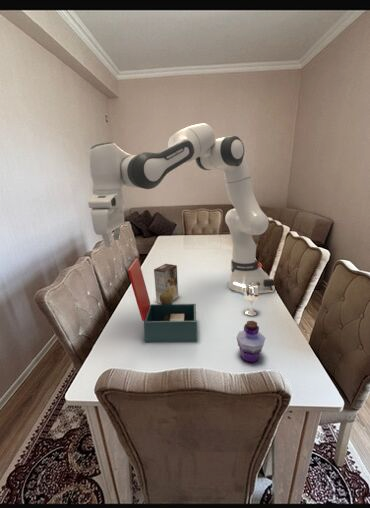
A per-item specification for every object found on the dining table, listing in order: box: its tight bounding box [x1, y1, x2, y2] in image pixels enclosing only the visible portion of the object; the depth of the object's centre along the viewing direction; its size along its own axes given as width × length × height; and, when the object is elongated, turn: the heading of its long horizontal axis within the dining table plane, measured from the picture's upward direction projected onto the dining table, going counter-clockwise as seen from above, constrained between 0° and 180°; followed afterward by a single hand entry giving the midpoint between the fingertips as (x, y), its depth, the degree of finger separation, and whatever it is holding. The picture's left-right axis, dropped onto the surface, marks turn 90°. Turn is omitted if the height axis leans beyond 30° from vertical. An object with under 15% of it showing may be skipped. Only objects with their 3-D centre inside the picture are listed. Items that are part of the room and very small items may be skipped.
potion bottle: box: [236, 320, 267, 364], centre depth 75 cm, size 9×9×12 cm
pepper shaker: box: [160, 292, 174, 321], centre depth 97 cm, size 6×6×11 cm
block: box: [170, 314, 185, 321], centre depth 90 cm, size 5×5×5 cm
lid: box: [127, 257, 151, 322], centre depth 86 cm, size 18×13×1 cm
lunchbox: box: [143, 303, 198, 343], centre depth 90 cm, size 18×13×8 cm
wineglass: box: [243, 283, 260, 317], centre depth 100 cm, size 6×6×12 cm
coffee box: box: [153, 263, 179, 304], centre depth 113 cm, size 9×6×16 cm
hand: (113, 242), depth 82 cm, fingers open, 8 cm apart
